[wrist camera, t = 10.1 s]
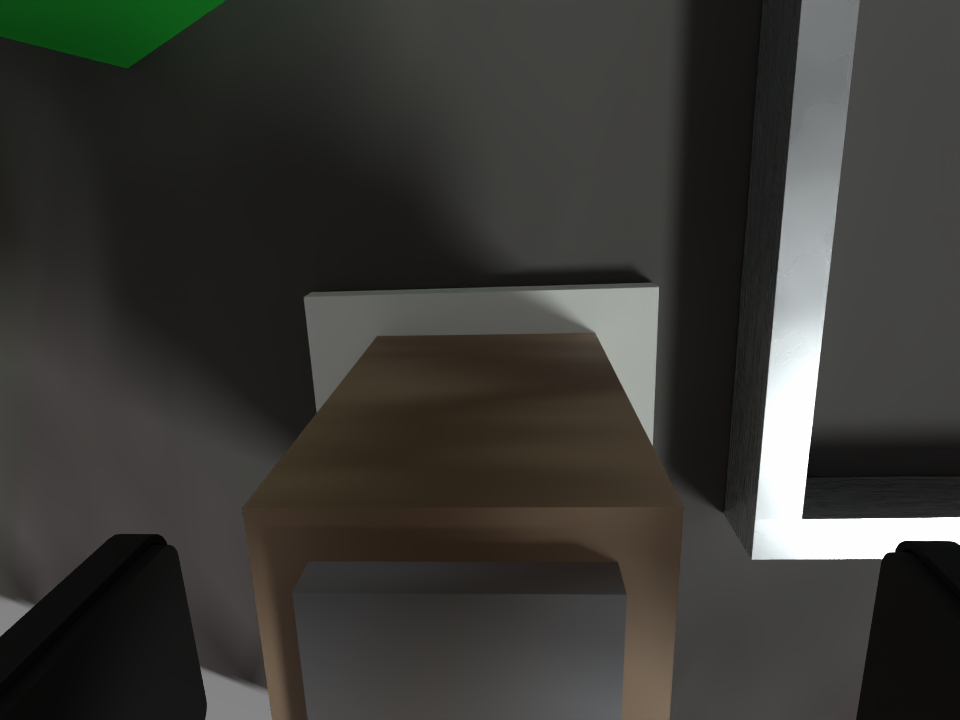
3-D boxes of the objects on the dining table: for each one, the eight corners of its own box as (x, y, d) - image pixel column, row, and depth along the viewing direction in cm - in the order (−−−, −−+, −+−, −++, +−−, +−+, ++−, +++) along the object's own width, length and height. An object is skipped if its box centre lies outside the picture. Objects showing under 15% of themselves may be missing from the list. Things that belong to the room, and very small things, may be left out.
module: (595, 333, 15) (698, 536, 7) (590, 528, 16) (671, 894, 8) (377, 335, 15) (219, 536, 7) (390, 528, 17) (273, 883, 8)
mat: (653, 282, 15) (658, 286, 15) (643, 549, 17) (647, 562, 17) (310, 292, 16) (303, 297, 15) (339, 551, 18) (334, 564, 17)
